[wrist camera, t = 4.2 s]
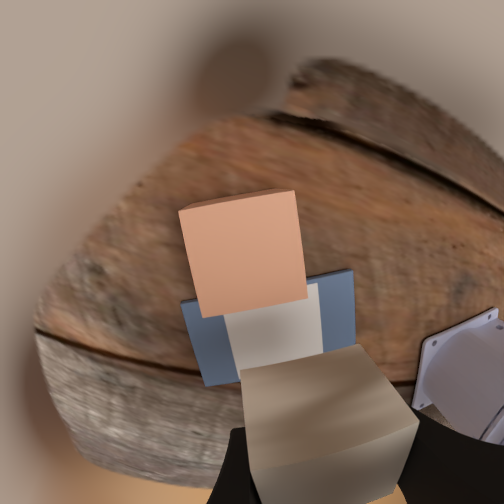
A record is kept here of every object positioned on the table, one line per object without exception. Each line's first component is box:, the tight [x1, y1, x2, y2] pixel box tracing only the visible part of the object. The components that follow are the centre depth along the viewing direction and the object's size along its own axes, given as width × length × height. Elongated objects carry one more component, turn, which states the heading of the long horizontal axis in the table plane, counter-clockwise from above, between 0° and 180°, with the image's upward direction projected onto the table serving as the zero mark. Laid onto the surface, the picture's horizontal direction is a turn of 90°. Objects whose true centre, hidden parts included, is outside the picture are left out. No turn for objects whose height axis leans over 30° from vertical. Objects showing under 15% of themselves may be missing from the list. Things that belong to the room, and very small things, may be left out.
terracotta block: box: [178, 189, 308, 318], centre depth 14 cm, size 4×4×4 cm
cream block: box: [240, 344, 420, 504], centre depth 8 cm, size 4×4×4 cm
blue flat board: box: [180, 269, 355, 387], centre depth 17 cm, size 10×6×1 cm, turn 100°
